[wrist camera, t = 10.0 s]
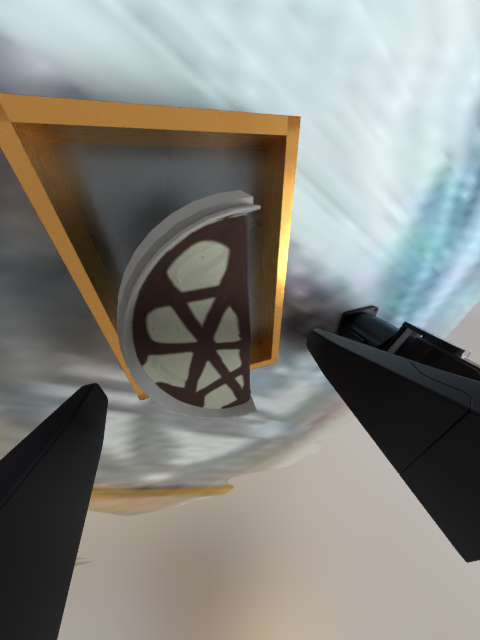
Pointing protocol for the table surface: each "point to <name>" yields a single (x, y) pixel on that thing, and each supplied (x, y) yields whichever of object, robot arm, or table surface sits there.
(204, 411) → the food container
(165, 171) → the wooden tray
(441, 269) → the table surface
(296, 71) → the table surface
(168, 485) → the table surface
